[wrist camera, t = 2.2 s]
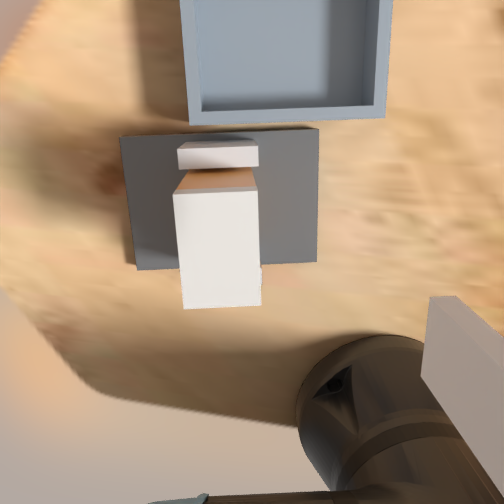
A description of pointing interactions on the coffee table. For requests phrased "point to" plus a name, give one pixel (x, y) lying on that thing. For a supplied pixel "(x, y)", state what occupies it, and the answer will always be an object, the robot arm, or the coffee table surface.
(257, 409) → the coffee table surface
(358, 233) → the coffee table surface
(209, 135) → the block
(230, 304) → the block
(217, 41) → the tray
